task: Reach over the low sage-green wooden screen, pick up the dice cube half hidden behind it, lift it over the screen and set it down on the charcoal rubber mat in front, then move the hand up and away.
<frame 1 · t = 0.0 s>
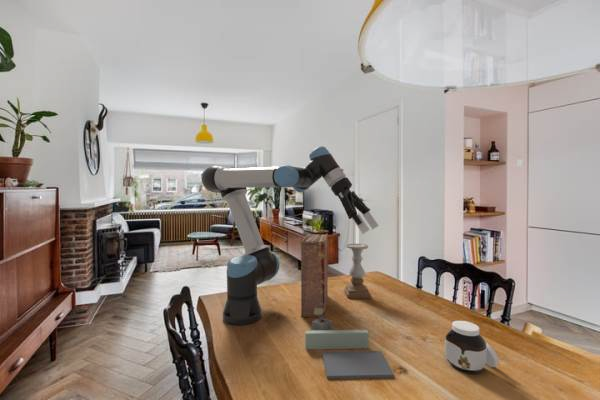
hand: (371, 229, 107), 36 cm above the table, tool tilted 35°, fingers open, 13 cm apart
spread jar: (471, 366, 85), on the table
candle holder: (357, 295, 144), on the table
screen: (336, 347, 95), on the table
mat: (355, 365, 85), on the table
dice cube: (322, 336, 103), on the table
book: (315, 305, 130), on the table
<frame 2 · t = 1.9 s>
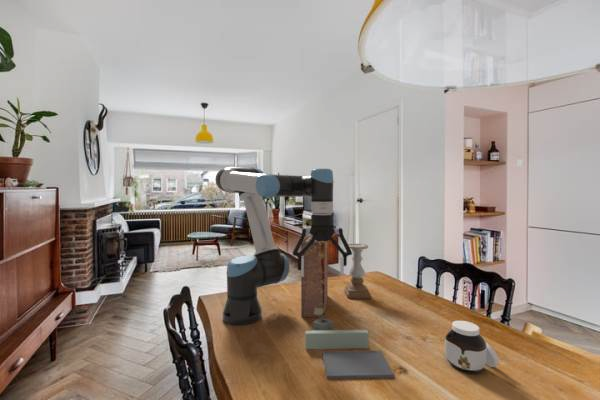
hand: (322, 275, 103), 21 cm above the table, tool pointing down, fingers open, 13 cm apart
nothing on the table moved.
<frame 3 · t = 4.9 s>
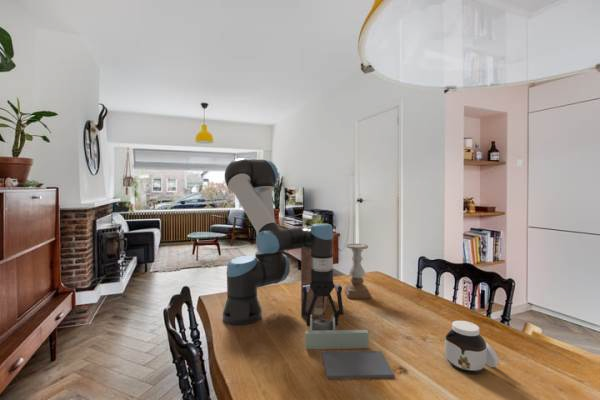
hand: (322, 334, 103), 0 cm above the table, tool pointing down, fingers closed on dice cube, 7 cm apart
dice cube: (322, 336, 103), on the table, touching gripper
everything else where it was.
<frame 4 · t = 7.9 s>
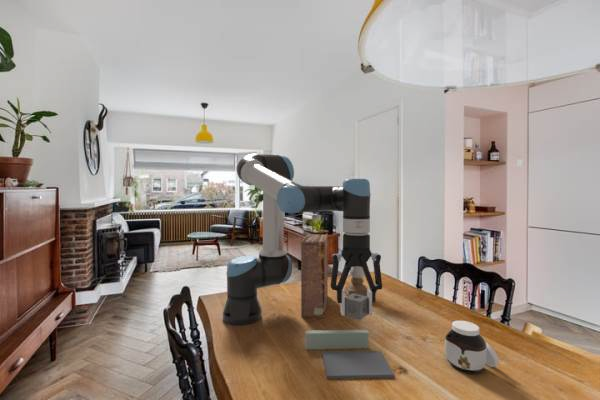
hand: (356, 313, 85), 15 cm above the table, tool pointing down, fingers closed on dice cube, 7 cm apart
dice cube: (356, 315, 85), point 15 cm above the table, touching gripper
everything else where it was.
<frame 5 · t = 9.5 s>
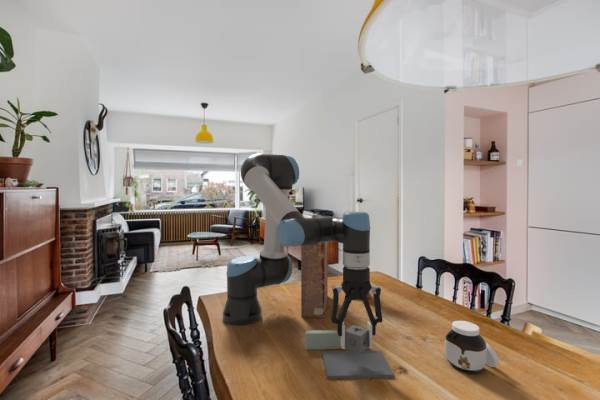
hand: (356, 346, 85), 6 cm above the table, tool pointing down, fingers closed on dice cube, 7 cm apart
dice cube: (356, 348, 85), point 5 cm above the table, touching gripper
everything else where it was.
when the fingers open (2 cm above the table, at t = 11.0 s): dice cube stays where it is, resting on mat.
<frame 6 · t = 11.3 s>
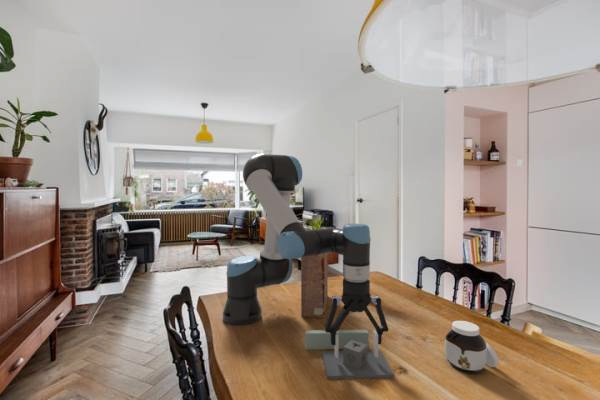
hand: (355, 355, 85), 3 cm above the table, tool pointing down, fingers open, 10 cm apart
dice cube: (355, 363, 85), point 1 cm above the table, touching mat
everything else where it was.
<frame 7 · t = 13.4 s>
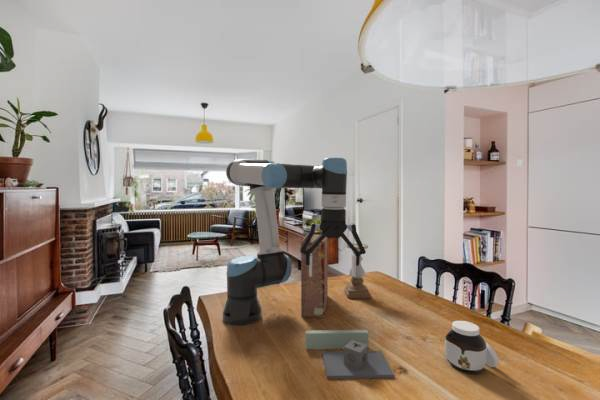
hand: (332, 275, 94), 23 cm above the table, tool pointing down, fingers open, 13 cm apart
nothing on the table moved.
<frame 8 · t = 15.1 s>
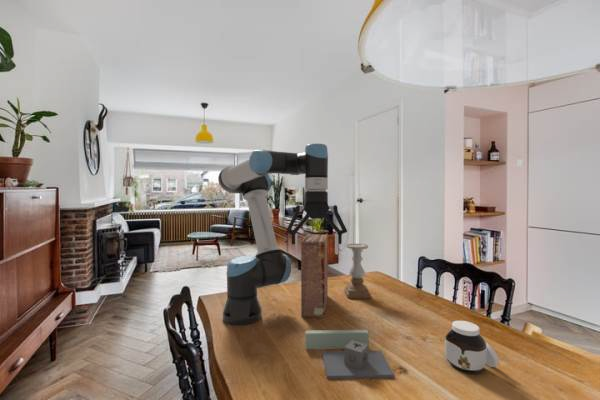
hand: (316, 254, 100), 29 cm above the table, tool pointing down, fingers open, 13 cm apart
nothing on the table moved.
at the end: dice cube inside the target area (0.4 cm from its centre), point 0.6 cm above the table; the gripper is holding nothing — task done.
